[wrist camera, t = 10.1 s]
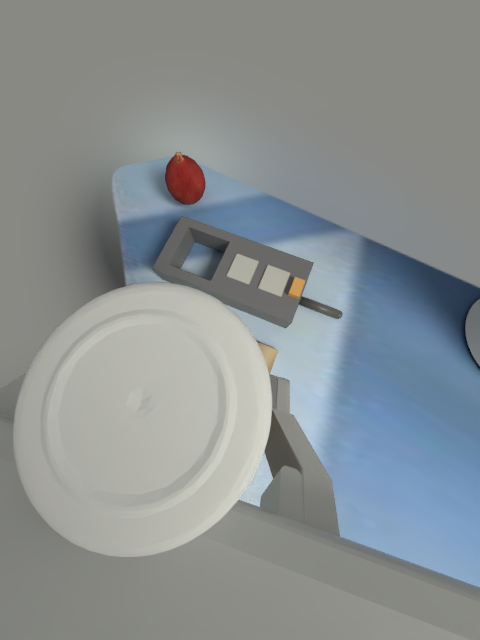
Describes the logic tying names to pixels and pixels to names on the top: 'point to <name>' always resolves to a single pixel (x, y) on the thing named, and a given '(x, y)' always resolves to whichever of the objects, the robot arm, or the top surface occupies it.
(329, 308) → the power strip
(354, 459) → the top surface
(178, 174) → the onion
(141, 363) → the sprinkles bottle
